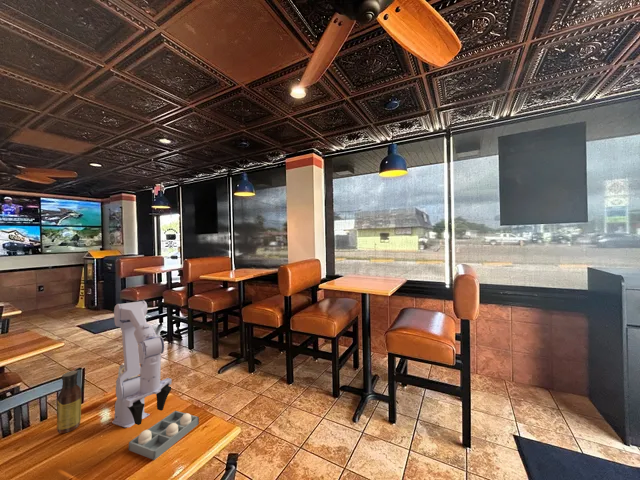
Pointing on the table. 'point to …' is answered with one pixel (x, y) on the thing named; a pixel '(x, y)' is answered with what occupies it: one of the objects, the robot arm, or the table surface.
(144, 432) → the egg
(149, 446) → the carton
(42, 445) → the table surface
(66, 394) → the sauce bottle
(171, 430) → the egg
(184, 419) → the egg
